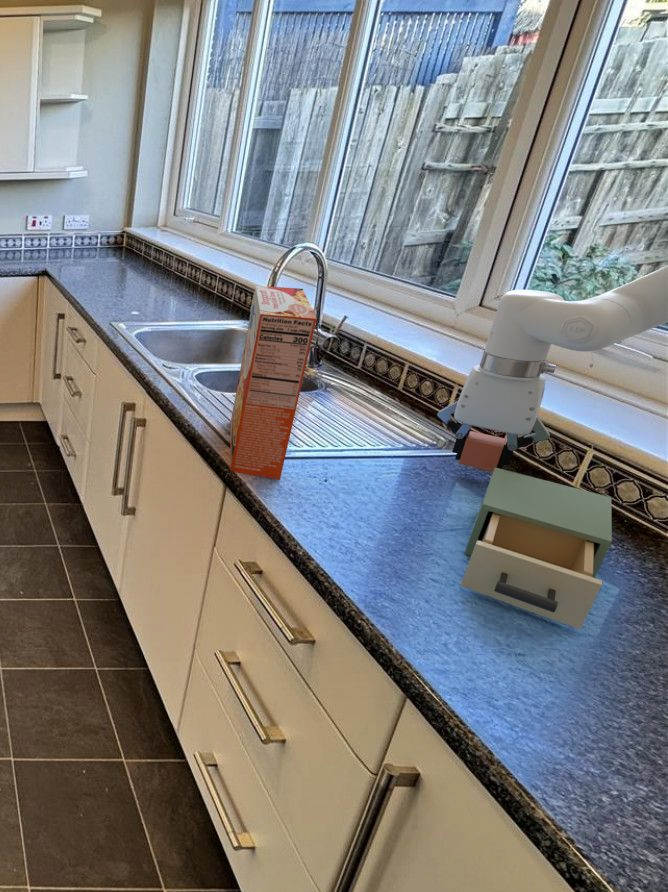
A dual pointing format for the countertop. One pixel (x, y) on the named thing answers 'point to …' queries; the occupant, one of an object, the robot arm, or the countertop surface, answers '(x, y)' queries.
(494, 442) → the block
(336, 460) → the countertop surface
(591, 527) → the cabinet
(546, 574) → the drawer
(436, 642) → the countertop surface
